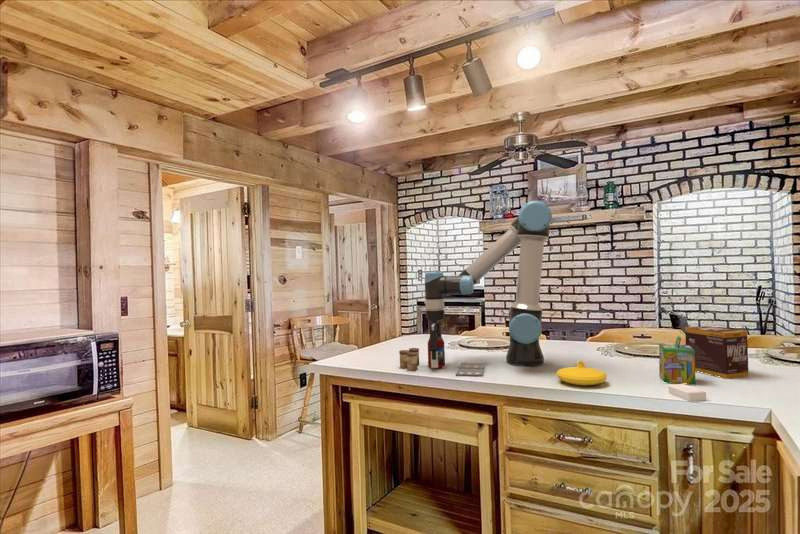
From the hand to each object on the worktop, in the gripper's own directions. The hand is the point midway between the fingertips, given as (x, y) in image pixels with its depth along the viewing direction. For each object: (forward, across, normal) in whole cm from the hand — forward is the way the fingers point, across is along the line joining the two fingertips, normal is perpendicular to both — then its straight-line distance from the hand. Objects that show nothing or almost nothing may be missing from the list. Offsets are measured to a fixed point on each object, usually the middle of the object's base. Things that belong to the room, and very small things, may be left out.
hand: (436, 364), depth 178 cm
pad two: (+1, -3, +14) cm, 14 cm away
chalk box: (+1, +12, +83) cm, 84 cm away
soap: (+2, +31, +79) cm, 85 cm away
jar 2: (+1, -4, -10) cm, 11 cm away
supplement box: (+1, -1, +100) cm, 100 cm away
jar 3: (+1, +5, -9) cm, 10 cm away
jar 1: (+1, +1, -13) cm, 13 cm away
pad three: (+1, +8, +14) cm, 16 cm away
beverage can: (+1, 0, 0) cm, 1 cm away
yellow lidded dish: (+1, +18, +52) cm, 55 cm away
